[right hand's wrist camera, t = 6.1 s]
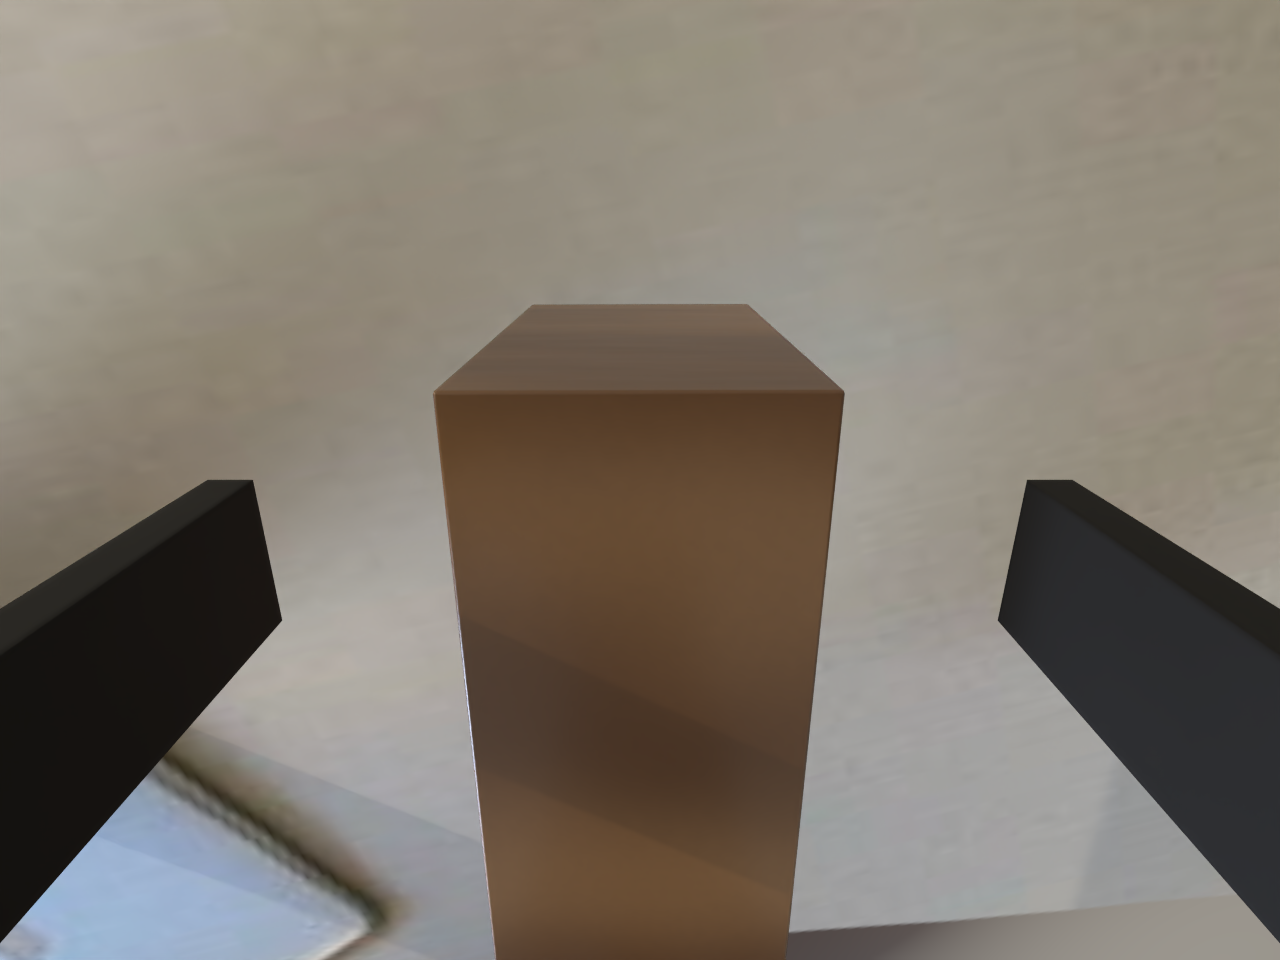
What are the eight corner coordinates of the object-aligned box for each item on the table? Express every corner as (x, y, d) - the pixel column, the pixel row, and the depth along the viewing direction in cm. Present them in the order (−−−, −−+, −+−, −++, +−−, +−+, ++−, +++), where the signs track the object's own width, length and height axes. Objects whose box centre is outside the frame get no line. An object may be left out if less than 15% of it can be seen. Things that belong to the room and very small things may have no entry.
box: (531, 304, 19) (431, 390, 10) (748, 303, 19) (846, 390, 10) (565, 902, 27) (526, 1253, 18) (717, 902, 27) (756, 1253, 18)
